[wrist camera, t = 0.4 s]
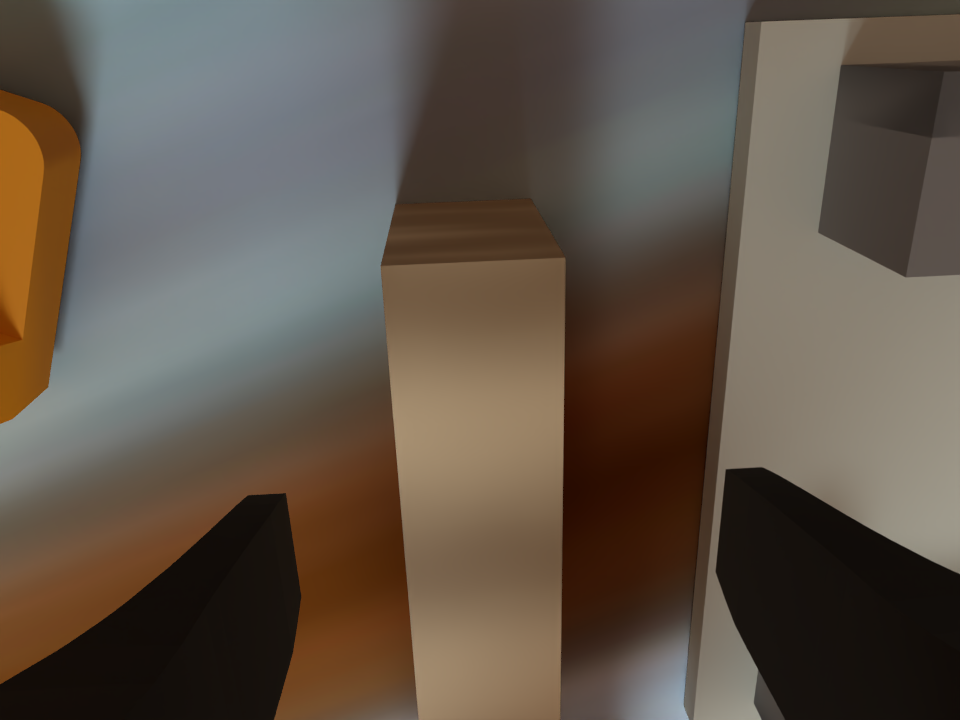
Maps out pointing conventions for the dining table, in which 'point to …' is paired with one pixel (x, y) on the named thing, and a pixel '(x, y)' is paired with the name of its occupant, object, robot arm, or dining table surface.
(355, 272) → the dining table surface
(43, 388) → the bracket
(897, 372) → the cradle
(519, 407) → the wooden block
